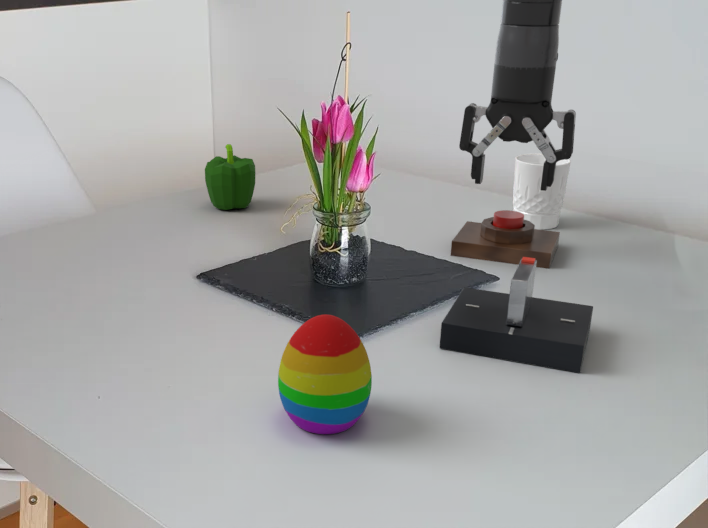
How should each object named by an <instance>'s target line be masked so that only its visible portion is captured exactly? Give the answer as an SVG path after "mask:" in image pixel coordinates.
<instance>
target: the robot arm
mask: <svg viewBox="0 0 708 528" xmlns="http://www.w3.org/2000/svg"><path fill="white" fill-rule="evenodd" d="M562 4H563V0H502V6H501V15H500V26H499V30H498V34H497V39H496V45H495V54H494V64H493V75H492V83H491V93H490V102H489V104H488V106H481V105H477V104H476V103H474V102H471V103H469V104H468V105H467V106H466V107H464V112H463V118H462V124H461V132H460V138H459V150H461V151H462V152H467V153H469V154H470V155H471V170H470V177H471V180H474V184H475V185H481V184H482V183H483V180H484V171H485V162H486V154H485V151H486V150H487V149H488V148H489V147H490V146H491V145H492V144H493V143H494V142H495V141H496V139H497V138H498V139H500V140H502V142H507V143H510V142H514V141H515V142H518V143H522V144H529V143H531V142H533V143H534V145H535V146H536V148H537V149H538V150H539V152H541V154H543V156H544V157H545V159H546V160H545V162H544V166H543V174H542V181H541V190H542V191H546V190H547V187H551V185H552V184H553V181H554V175H555V168H556V163H557V162H558V161H560V160H564V159H565V160H567V159H571V157H572V155H573V153H574V145H575V143H574V142H575V131H576V117H577V113H576V111H575V110H574V109H568V110H566V111H563V110H562V111H560V110H557V111H555V110H553V106H552V100H553V92H554V83H555V77H556V69H557V62H558V58H559V44H560V41H559V40H560V37H559V36H560V35H559V32H560V29H559V28H560V25H559V24H560V21H561V13H562ZM483 116H485V118H486V119H487V121H488V123H489V124H490V126H491V128H492V129H491V130H490V131H489V132H488V133H487V134H486V135H485V136H484V137H483V138H482V139H481V140H480V141H479V143H477V142H475V141H474V140H473V137H474V132H475V124H476V123H478V122H479V121H480V120H481V119H482V117H483ZM552 121H555V122H556V124H557V127H558V128H559V129H561V130H562V140H561V141H562V142H561V148H560V149H559V148H558V149H556V148H555V146H554V145H553V143H552V142H551V139H550V137H549V135H548V133H547V132H546V131H545V129H546V128H547V127H548V126H549V125H550V123H552Z"/></svg>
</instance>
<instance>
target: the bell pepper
mask: <svg viewBox="0 0 708 528" xmlns="http://www.w3.org/2000/svg"><path fill="white" fill-rule="evenodd" d="M224 148H225V149H226V158H224V157H223V156H218V155H216V156H214V157H213V158H212V159H210V161H207V162H206V165H205V167H204V180H205V186H206V190H207V193H208V196H209V197H208V198H209V200H210V203H211V204H212V206H213V207H214V208H216V209H218V210H224V211H228V210H232V209H246V208H248V207H249V206H250V204H251V202H252V199H253V195H254V192H255V191H254V190H255V187H256V163H255V162H254V159H253V158H249V157H242V158H241V157H239V156H238V155H234V150H233V145H232V144H230V143H228V144H226V145H225V147H224Z"/></svg>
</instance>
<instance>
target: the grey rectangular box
mask: <svg viewBox="0 0 708 528" xmlns="http://www.w3.org/2000/svg"><path fill="white" fill-rule="evenodd" d="M536 263H537V260H535V258H529V257H523V258H522V259H521V261H520V263H519V265H517V267H516V269H515V271H514V274H513V275H512V277H511V279H510V286H509V294H510V295H509V304H508V312H507V321H506V324H507V325H513V326H519V327H522V325H523V323H524V320H525V318H526V315H527V313H528V310H529V308H530V305H531V303H532V297H533V295H534V286H535V277H536V270H537V267H536Z"/></svg>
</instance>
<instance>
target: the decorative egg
mask: <svg viewBox="0 0 708 528" xmlns="http://www.w3.org/2000/svg"><path fill="white" fill-rule="evenodd" d="M278 367H279V368H278V372H277V373H278V377H277V385H278V386H277V387H278V394H279V398H280V401H281V405H282V407H283V409H284V411H285V413H286V414H287V416H288V417H289V419H290V420H291V421H292V423H293V424H294V425H296V426H297V427H299V428H300V429H302V430H303V431H305V432H309V433H311V434H317V435H333V434H339V433H342V432H345V431H348V430H349V429H350V428H352V427H353V426H354V425H355V424H356V423H357V422H358V421H359V419H360V418H361V417H362V416H363V414H364V412H365V410H366V409H367V406H368V404H369V401H370V398H371V394H372V393H371V392H372V384H373V383H372V382H373V381H372V380H373V379H372V377H373V375H372V368H371V362H370V359H369V355H368V352H367V350H366V347H365V345H364V343H363V341H362V340H361V338H360V336H359V335H358V334H357V332H356V331H355V329H354V328H352V326H351V325H350V324H348V323H347V322H346V321H345V320H343V319H342V318H340V317H339V316H336V315H333V314H325V313H324V314H319V315H314V316H313V317H311V318H309V319H307V320H306V321H304V323H302V324H301V325H300V326H299V327H298V328H297V329H296V331H295V332H294V333H293V334H292V336H291V337H290V339H289V340H288V342H287V344H286V345H285V348H284V350H283V352H282V356H281V358H280V362H279V366H278Z"/></svg>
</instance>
